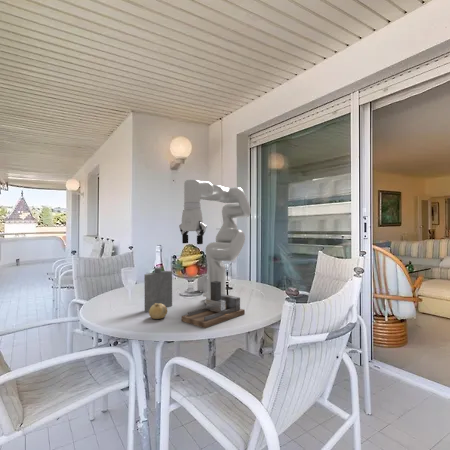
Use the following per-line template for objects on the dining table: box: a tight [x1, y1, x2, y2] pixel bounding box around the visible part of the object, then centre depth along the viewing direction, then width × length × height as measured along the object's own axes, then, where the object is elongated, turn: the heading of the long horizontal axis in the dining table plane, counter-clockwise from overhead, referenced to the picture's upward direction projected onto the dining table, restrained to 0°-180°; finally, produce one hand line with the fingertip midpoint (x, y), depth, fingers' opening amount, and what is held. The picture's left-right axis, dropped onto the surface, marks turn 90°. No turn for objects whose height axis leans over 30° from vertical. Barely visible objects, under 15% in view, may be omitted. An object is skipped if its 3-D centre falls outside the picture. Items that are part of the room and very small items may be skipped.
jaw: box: [205, 281, 225, 312], centre depth 143 cm, size 9×3×13 cm, turn 49°
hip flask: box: [144, 266, 173, 313], centre depth 157 cm, size 16×4×20 cm, turn 139°
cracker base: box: [181, 294, 246, 329], centre depth 142 cm, size 14×26×8 cm, turn 139°
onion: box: [148, 303, 168, 320], centre depth 141 cm, size 8×8×7 cm
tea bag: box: [196, 275, 207, 293], centre depth 196 cm, size 4×7×10 cm, turn 39°
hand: (192, 243), depth 148 cm, fingers open, 9 cm apart
